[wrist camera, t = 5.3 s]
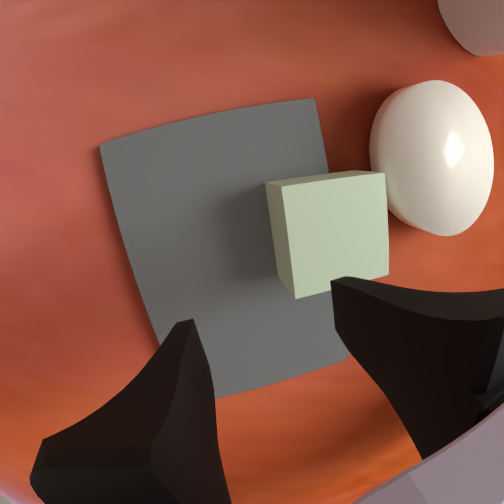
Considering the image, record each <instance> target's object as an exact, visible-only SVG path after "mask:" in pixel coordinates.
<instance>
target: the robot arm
mask: <svg viewBox="0 0 504 504" xmlns="http://www.w3.org/2000/svg"><path fill="white" fill-rule="evenodd" d="M330 285H331V294H332V303H333V313H334V324H335V330H336V332H337V333H338V335H339V337H340V338H341V340H342V342H343V343H344V345H345V346H346V348H347V349H348V351H349V352H350V353H351V354H352V355H353V357H354V358H355V359H356V360H357V361H358V363H359V364H360V365H361V366H362V367H363V368H364V370H365V371H366V372H367V373H368V374H369V375H370V377H371V378H372V379H373V380H374V381H375V382H376V384H377V385H378V386H379V387H380V388H381V390H382V391H383V392H384V394H385V395H386V397H387V398H388V400H389V401H390V403H391V404H392V406H393V408H394V409H395V411H396V412H397V414H398V416H399V417H400V419H401V421H402V422H403V424H404V426H405V427H406V429H407V431H408V433H409V435H410V436H411V438H412V440H413V442H414V444H415V446H416V448H417V450H418V452H419V454H420V456H421V458H422V461H421V462H419V463H417V464H415V465H414V466H412V467H410V468H408V469H406V470H404V471H402V472H401V473H399V474H398V475H396V476H394V477H393V478H391V479H390V480H388V481H386V482H385V483H383V484H381V485H379V486H378V487H376V488H374V489H372V490H371V491H369V492H367V493H366V494H364V495H363V496H362V497H360V498H359V499H358V500H357V501H355V502H354V503H353V504H504V288H503V289H497V290H489V291H480V292H458V293H451V292H433V291H422V290H415V289H409V288H403V287H398V286H393V285H388V284H384V283H379V282H375V281H370V280H366V279H361V278H356V277H350V276H344V277H341V278H338V279H334V280H331V281H330ZM30 484H31V486H32V488H33V490H34V491H35V493H36V494H37V496H38V497H39V498H40V499H41V500H42V501H43V502H44V503H45V504H232V503H231V500H230V496H229V492H228V488H227V484H226V480H225V475H224V471H223V467H222V462H221V457H220V452H219V446H218V439H217V425H216V410H215V396H214V386H213V381H212V375H211V370H210V365H209V363H208V360H207V357H206V354H205V351H204V348H203V346H202V343H201V340H200V337H199V334H198V331H197V328H196V325H195V322H194V319H189V320H185V321H180V322H176V323H175V325H174V326H173V328H172V329H171V331H170V332H169V334H168V335H167V337H166V338H165V340H164V341H163V343H162V344H161V346H160V347H159V348H158V350H157V351H156V353H155V354H154V355H153V356H152V358H151V359H150V360H149V361H148V363H147V364H146V365H145V367H144V368H143V369H142V370H141V371H140V372H139V374H138V375H137V376H136V377H135V378H134V379H133V380H132V381H131V382H130V383H129V384H128V385H127V386H126V387H125V388H124V389H123V390H122V391H120V392H119V393H118V394H117V395H116V396H114V397H113V398H112V399H111V400H109V401H108V402H107V403H106V404H105V405H103V406H102V407H101V408H99V409H98V410H96V411H95V412H93V413H92V414H90V415H89V416H87V417H86V418H84V419H82V420H81V421H79V422H78V423H76V424H74V425H72V426H70V427H68V428H66V429H64V430H62V431H60V432H58V433H56V434H54V435H52V436H50V437H48V438H45V439H43V441H42V443H41V446H40V449H39V452H38V454H37V457H36V460H35V463H34V466H33V469H32V472H31V475H30Z"/></svg>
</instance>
